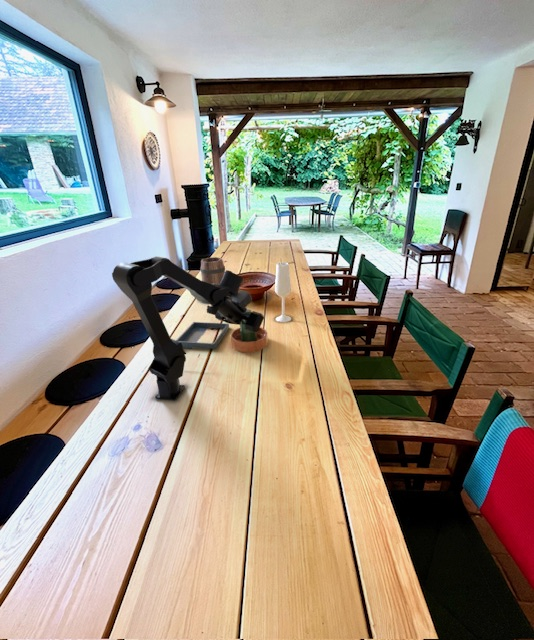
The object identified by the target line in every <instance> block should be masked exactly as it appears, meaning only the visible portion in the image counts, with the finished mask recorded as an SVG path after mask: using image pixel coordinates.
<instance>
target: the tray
mask: <svg viewBox="0 0 534 640" xmlns="http://www.w3.org/2000/svg"><path fill="white" fill-rule="evenodd" d="M211 328H212V329H222V330H221V332H220V333H219V334H218V336H217V337H216V339H215V340H214V342H200V341H199V340H200V339H201V338H202V336H203V335H204V334H205V333H206V331H207V330H209V329H211ZM229 329H230V324H229V323H226V322H224V323H223V322H204V321H202V322H201V321H193V322H192V323H191V324H190V325H188V327H187V328H186V329H185V330H184V331H183V332H182V333H181V334H180V335H179V336H178V338H176V339H175V340H176V341H178V342H180V343H181V344H182V346H183V349H192V348H194V349H207V350H209V349H210V350H211V349H212V350H215V349H216V348H217V347H218V345H219V343H220V342H221V341H222V339H223V338H224V336H225V335H226V334H227V332H228V331H229Z"/></svg>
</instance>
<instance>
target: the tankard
mask: <svg viewBox="0 0 534 640" xmlns="http://www.w3.org/2000/svg"><path fill="white" fill-rule="evenodd" d="M199 270H200V273H201V274H200V275H201V281H204V282H207V283H210V284H217V285H219V284H220V282H221V280H222V278H223V276H224V273H225V271H226V266H225V264H224V260H223V258H222V257H217V256H214V257H210V256H209V257H207V258H201V260H200V269H199ZM227 297H228V298H229V299H231V298H230V296H227ZM200 303H201V304H206V305H209V304H208V303H205V302H202V301H200Z"/></svg>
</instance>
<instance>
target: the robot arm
mask: <svg viewBox="0 0 534 640" xmlns="http://www.w3.org/2000/svg"><path fill="white" fill-rule="evenodd" d="M111 277H112V280H113V282H114V283H115V284H116V286H117V287H118V288H119V289H120V291H121V292H122V293H123V294H124V296H126V297H127V298H128V299H129V300H130V301H131V302H132V304H133V306H134V308H135V310H136V312H137V314H138V316H139V318H140V320H141V322H142V324H143V326H144V328H145V330H146V333H147V334H148V336H149V338H150V340H151V342H152V345H153V347H152V354H153V359H152V361H151V363H150V365H149V367H148V371H149V372H150V374H152V375H153V376H156V386H157V390H158V392H157V393H156V394H155V395H154V398H155V399H159V400H166V401H167V400H168V401H177V399H178V398H179V396H180V395H181V394H182V392H183V391H184V390H185V388H186V386H185V385H183V384H181V382H180V378H182V377H183V376H184V369H185V363H186V361H187V357H186V355H187V352H186V351H185V350H184V348H183V346H182V344H181V343H180V342H178V341H176V340H177V339H173V338H171V336H170V334H169V331H168V329H167V328H166V324H165V323H164V320H163V318H162V317H161V313H159V310H158V308H157V305H156V303H155V301H154V299H153V296H152V291H153V283H155V282H157V281H158V280H160V279H161V278H162V277H165V278H167V279H168V280H170V281H171V282H173V283H175V284H177V285H179V286H181V287H182V288H184V289H186V290H187V291H188V292H189V293H190V295H191V296H192V297H193V298H194V299H196V300H197V301H199V302H201V301H202V302H205V303H204V304H206V303H208V304H207V306H206V313H207V314H210V315H213V316H214V317H215V319H216V320H218V321H220V322H222V323H223V322H224V323H225V324H229V325H230V324H231V325H237V326H240V322H242V320H245V321H246V323H245V329H247V330H250V331H253V332H258V330H259V328H260V327H262V326H261V325H262V324H263V321H264V320H265V315H264V314H263V313H262V312H258V311H255V310H253V311H251V313H249V314H247V313H244V312H246V310H247V309H248V308H247V306H248V305H249V304H250V303H251V302H252V301H253V298H252V295H251V293H250V291H246V290H243V289H240V287H241V286H242V284H243V282H244V278H243V277H242V276H241V275H238V274H236V273H235V272H233V271H231V270H228V269H227V270H226V269H225V273H224V276H223V278H222V280H221V282H220V284H219V285H217V284H210V283H207V282H204V281H202V279H200V278H198V277H196V276H194V275H193V274H191V273H189V272H188V271H186V270H185V269H183V268H182V267H180V266H179V265H177V264H175V263H174V262H172V261H171V259H169V258H167V257H163V256H154V257H151V258H148V259H143V260H136V261H132V262H130V263H129V262H120V263H118V264H116V265H115V267H114V268H113V270H112V272H111ZM227 296H230V298H231V299H229V298H228V297H227ZM202 302H201V303H202Z"/></svg>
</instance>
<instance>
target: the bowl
mask: <svg viewBox="0 0 534 640" xmlns="http://www.w3.org/2000/svg"><path fill="white" fill-rule="evenodd" d="M229 337H230V344H231V348H232V349H233V350H234V351H237V352H240V353H256V352H259V351H262V350H264V348H266V347H267V346H268V343H269V338H268V331H267V330H266V329H265V328H263V327H262V326H260V328H259V330H258V332H257V341H252V342H241V334H240V327H237V328H235V329H234V330H232V331H231V332H230V336H229Z"/></svg>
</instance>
